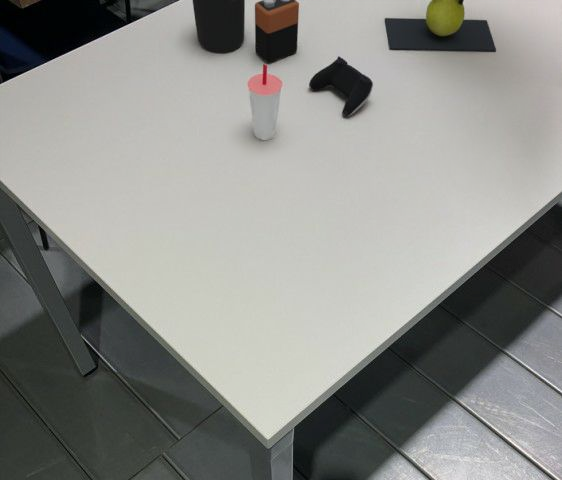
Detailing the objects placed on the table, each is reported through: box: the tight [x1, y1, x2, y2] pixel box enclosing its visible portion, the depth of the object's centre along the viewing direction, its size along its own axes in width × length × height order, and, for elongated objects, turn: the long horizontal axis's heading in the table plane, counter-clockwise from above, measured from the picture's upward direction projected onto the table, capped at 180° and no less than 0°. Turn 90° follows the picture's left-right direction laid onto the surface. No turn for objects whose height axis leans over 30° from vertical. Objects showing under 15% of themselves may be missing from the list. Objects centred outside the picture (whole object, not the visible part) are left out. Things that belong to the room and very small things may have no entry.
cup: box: [247, 64, 283, 141], centre depth 98 cm, size 5×5×12 cm
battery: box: [254, 0, 300, 64], centre depth 110 cm, size 4×7×10 cm, turn 125°
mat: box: [384, 17, 497, 53], centre depth 118 cm, size 20×10×1 cm, turn 90°
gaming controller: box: [308, 55, 374, 118], centre depth 107 cm, size 11×4×7 cm
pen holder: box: [192, 0, 246, 54], centre depth 112 cm, size 9×9×10 cm
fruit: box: [425, 0, 466, 36], centre depth 113 cm, size 7×7×12 cm
